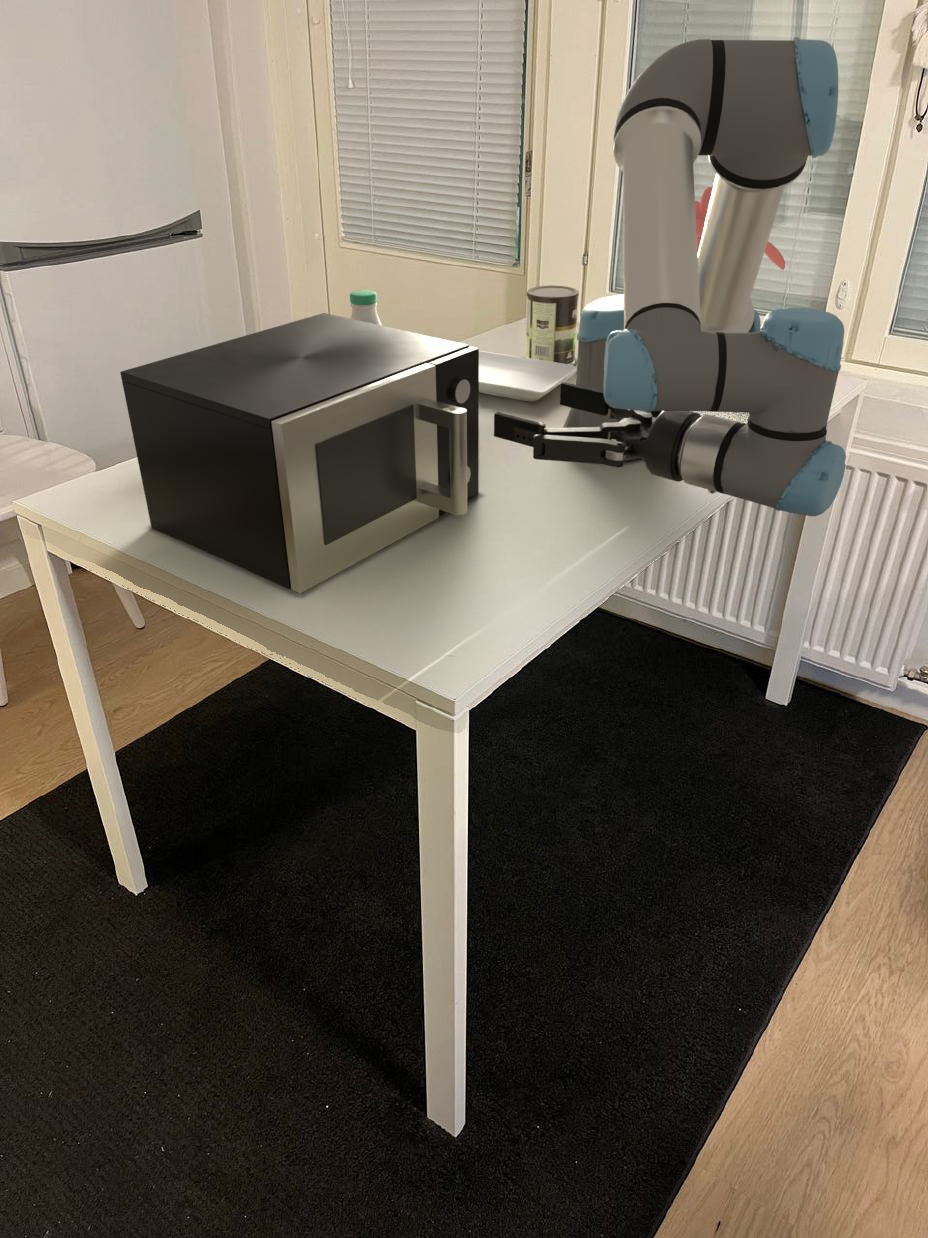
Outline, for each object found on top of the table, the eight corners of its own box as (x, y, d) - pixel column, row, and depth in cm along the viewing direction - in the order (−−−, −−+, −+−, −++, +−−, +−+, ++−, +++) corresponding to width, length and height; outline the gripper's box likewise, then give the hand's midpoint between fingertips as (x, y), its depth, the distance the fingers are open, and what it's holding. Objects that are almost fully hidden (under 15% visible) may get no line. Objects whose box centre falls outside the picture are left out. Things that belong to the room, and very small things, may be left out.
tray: (542, 410, 171) (543, 391, 169) (395, 383, 184) (394, 365, 182) (580, 383, 183) (581, 365, 181) (440, 360, 196) (440, 343, 195)
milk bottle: (341, 409, 172) (332, 295, 161) (360, 395, 178) (353, 285, 167) (379, 414, 169) (373, 299, 159) (398, 400, 176) (393, 289, 165)
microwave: (482, 497, 140) (483, 347, 128) (303, 596, 116) (284, 423, 104) (335, 449, 156) (324, 312, 144) (151, 527, 132) (119, 371, 120)
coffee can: (572, 354, 199) (576, 284, 192) (577, 369, 191) (581, 297, 183) (523, 354, 200) (525, 284, 192) (525, 369, 191) (527, 297, 183)
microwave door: (479, 531, 130) (479, 375, 118) (341, 612, 112) (326, 438, 101) (430, 514, 135) (426, 362, 123) (291, 589, 117) (271, 420, 105)
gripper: (630, 520, 96) (465, 470, 107) (737, 447, 112) (584, 410, 124) (637, 450, 92) (465, 405, 103) (746, 385, 108) (588, 352, 120)
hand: (529, 408), depth 113 cm, fingers open, 13 cm apart
